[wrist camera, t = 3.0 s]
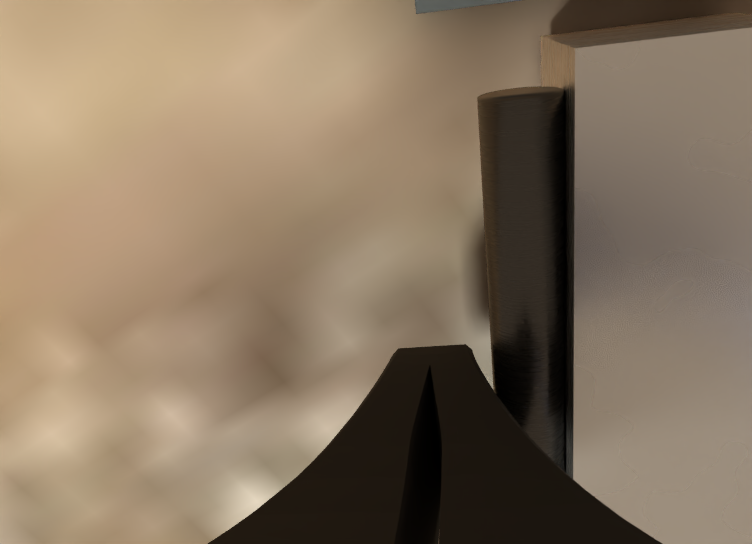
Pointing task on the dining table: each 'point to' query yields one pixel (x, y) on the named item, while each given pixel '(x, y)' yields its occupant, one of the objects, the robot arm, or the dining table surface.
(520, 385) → the sliding jaw
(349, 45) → the dining table surface
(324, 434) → the dining table surface
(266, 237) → the dining table surface
